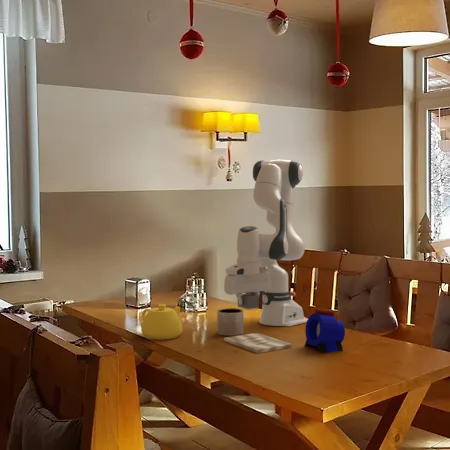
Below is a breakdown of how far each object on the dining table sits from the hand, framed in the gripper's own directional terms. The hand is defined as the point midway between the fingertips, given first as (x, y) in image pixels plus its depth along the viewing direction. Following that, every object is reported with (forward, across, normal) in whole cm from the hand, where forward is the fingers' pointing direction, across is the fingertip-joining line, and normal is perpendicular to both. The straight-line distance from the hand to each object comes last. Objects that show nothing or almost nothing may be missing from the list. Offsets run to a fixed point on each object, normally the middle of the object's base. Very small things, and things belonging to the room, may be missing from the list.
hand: (248, 303), depth 251 cm
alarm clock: (+15, -18, +25) cm, 34 cm away
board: (+15, 0, +6) cm, 16 cm away
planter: (+15, -1, -14) cm, 20 cm away
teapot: (+15, +23, -28) cm, 39 cm away
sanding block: (+2, 0, 0) cm, 2 cm away
